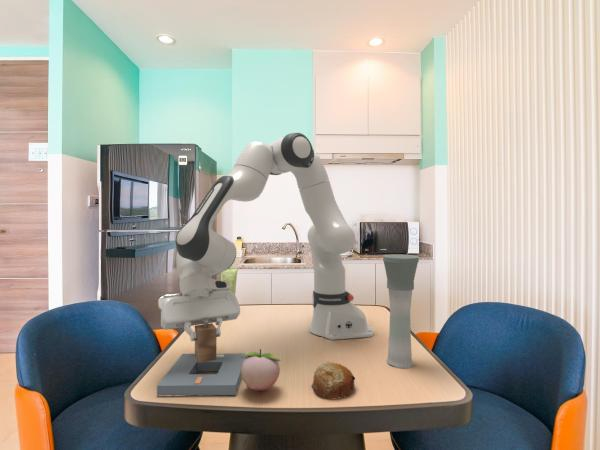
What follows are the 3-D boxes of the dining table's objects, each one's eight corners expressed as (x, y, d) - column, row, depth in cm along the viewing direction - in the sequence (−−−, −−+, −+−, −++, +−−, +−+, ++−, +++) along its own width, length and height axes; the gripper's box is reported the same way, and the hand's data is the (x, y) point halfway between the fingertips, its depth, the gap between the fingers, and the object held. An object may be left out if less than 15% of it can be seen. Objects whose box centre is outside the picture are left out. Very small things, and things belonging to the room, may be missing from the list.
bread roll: (316, 393, 88) (303, 365, 87) (352, 374, 88) (339, 347, 88) (323, 416, 78) (308, 385, 77) (363, 394, 79) (348, 364, 78)
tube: (232, 310, 149) (232, 265, 148) (238, 313, 145) (238, 267, 145) (220, 313, 146) (220, 267, 145) (226, 316, 142) (225, 268, 141)
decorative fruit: (237, 401, 77) (237, 357, 77) (243, 383, 85) (243, 343, 85) (279, 401, 77) (279, 357, 77) (281, 383, 85) (281, 343, 85)
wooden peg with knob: (211, 353, 91) (211, 314, 91) (216, 359, 87) (216, 318, 87) (194, 356, 89) (194, 316, 89) (198, 363, 85) (198, 321, 85)
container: (411, 355, 102) (412, 254, 101) (422, 370, 92) (423, 258, 91) (378, 355, 102) (379, 254, 101) (386, 370, 92) (387, 258, 91)
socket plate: (246, 362, 97) (246, 352, 97) (235, 395, 79) (235, 383, 79) (182, 362, 97) (182, 352, 97) (157, 396, 79) (156, 384, 79)
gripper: (158, 289, 89) (163, 338, 80) (235, 282, 99) (247, 325, 90) (156, 302, 93) (161, 351, 84) (230, 294, 103) (241, 337, 94)
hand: (206, 337), depth 87 cm, fingers closed on wooden peg with knob, 4 cm apart
